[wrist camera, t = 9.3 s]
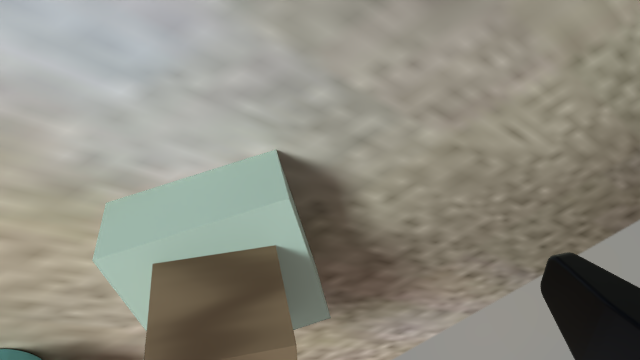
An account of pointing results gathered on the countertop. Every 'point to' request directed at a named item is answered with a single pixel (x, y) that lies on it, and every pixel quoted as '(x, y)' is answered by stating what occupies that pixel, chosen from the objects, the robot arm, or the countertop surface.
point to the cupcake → (16, 355)
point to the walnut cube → (220, 309)
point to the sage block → (210, 232)
